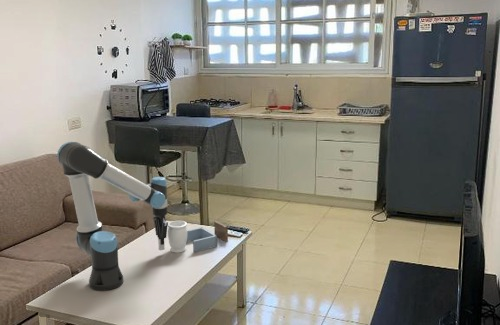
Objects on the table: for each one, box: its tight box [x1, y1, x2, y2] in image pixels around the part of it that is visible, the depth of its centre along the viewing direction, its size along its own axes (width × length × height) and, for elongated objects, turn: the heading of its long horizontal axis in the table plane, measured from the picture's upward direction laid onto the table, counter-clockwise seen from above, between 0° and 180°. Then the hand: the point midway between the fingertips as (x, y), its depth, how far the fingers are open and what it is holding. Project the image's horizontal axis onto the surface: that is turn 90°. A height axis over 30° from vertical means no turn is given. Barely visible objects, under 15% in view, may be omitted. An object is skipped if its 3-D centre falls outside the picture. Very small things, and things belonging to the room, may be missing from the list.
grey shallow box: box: [187, 226, 218, 253], centre depth 268 cm, size 14×16×6 cm
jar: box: [167, 220, 188, 254], centre depth 260 cm, size 11×10×15 cm
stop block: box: [213, 220, 229, 243], centre depth 277 cm, size 2×11×9 cm, turn 35°
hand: (161, 249), depth 256 cm, fingers closed
